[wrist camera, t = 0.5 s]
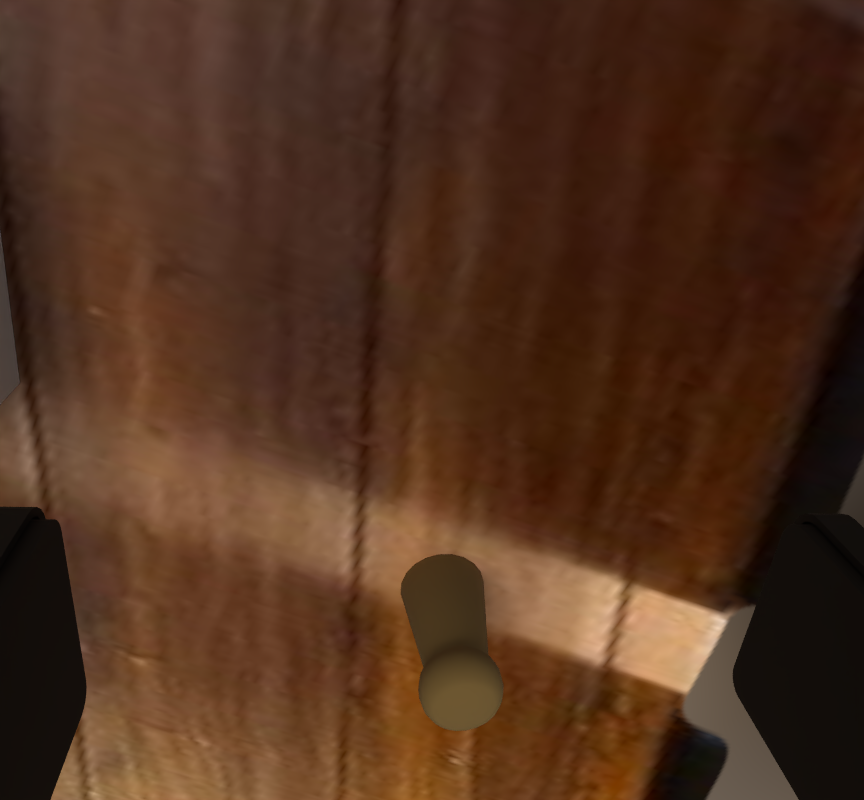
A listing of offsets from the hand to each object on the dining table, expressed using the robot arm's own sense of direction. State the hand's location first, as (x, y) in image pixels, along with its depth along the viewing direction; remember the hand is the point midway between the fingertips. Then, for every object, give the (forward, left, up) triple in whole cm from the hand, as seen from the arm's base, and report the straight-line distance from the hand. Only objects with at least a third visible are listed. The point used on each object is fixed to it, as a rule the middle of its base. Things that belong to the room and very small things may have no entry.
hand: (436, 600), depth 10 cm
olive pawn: (+29, +8, -35) cm, 46 cm away
